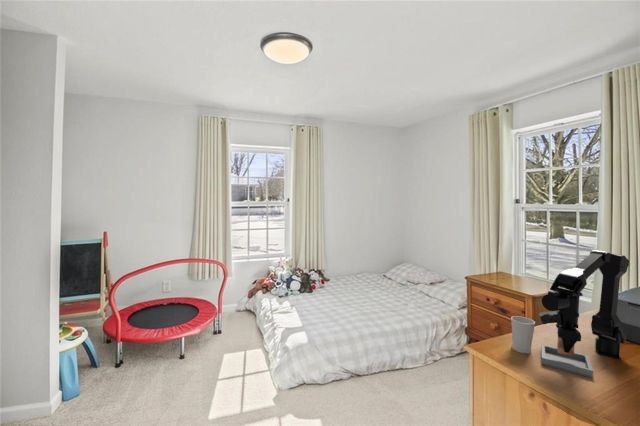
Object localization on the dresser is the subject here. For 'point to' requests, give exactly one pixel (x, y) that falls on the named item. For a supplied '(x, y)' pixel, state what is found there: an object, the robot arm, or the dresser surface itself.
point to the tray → (566, 361)
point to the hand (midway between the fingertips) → (565, 349)
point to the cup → (522, 333)
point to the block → (561, 348)
